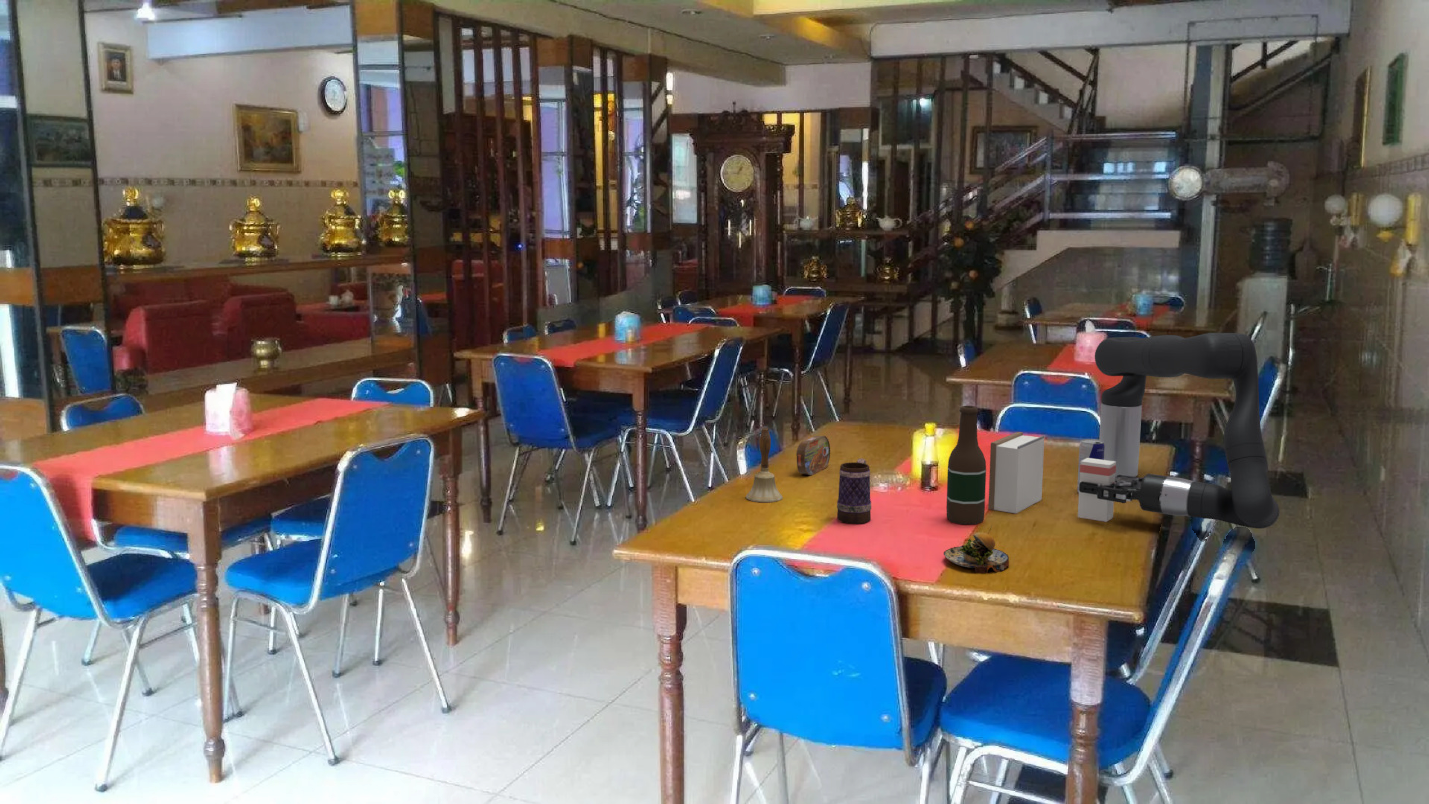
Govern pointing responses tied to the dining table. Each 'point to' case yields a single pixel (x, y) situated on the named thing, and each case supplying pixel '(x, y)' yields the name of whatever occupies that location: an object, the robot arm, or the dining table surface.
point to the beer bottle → (966, 473)
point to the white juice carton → (1090, 503)
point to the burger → (979, 554)
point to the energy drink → (1090, 452)
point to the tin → (813, 455)
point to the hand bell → (764, 475)
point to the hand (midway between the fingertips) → (1086, 483)
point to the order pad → (1015, 472)
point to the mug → (854, 493)
